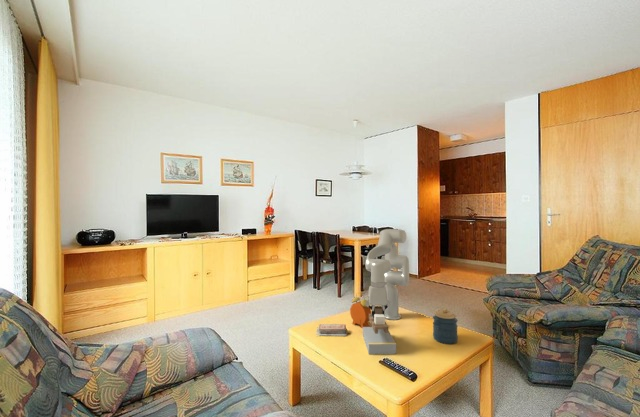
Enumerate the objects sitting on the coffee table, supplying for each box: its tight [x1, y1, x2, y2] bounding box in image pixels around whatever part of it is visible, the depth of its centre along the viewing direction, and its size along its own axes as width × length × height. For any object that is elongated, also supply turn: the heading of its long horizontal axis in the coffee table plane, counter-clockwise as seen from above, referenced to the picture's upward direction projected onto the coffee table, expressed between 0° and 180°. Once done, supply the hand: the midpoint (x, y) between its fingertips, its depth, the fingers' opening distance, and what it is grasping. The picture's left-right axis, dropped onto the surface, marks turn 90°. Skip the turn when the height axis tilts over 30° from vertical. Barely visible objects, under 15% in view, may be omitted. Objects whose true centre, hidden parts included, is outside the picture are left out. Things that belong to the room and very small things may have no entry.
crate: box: [374, 314, 386, 324], centre depth 157 cm, size 4×5×4 cm
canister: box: [432, 307, 459, 345], centre depth 167 cm, size 13×13×18 cm
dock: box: [362, 326, 397, 355], centre depth 162 cm, size 22×14×5 cm, turn 0°
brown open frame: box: [369, 306, 390, 334], centre depth 161 cm, size 19×7×10 cm, turn 0°
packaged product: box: [315, 323, 347, 337], centre depth 177 cm, size 18×5×10 cm
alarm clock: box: [349, 292, 372, 329], centre depth 188 cm, size 13×6×20 cm, turn 40°
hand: (378, 317), depth 161 cm, fingers closed on brown open frame, 4 cm apart
